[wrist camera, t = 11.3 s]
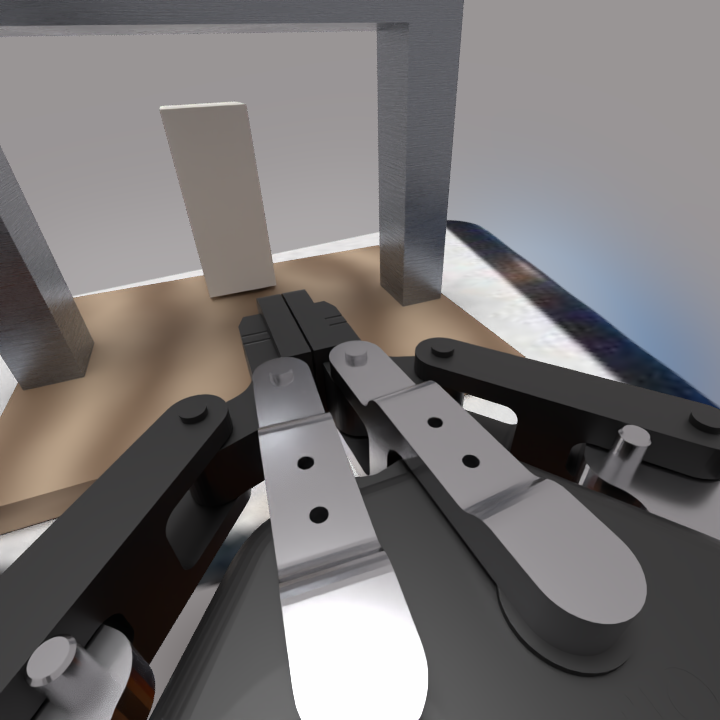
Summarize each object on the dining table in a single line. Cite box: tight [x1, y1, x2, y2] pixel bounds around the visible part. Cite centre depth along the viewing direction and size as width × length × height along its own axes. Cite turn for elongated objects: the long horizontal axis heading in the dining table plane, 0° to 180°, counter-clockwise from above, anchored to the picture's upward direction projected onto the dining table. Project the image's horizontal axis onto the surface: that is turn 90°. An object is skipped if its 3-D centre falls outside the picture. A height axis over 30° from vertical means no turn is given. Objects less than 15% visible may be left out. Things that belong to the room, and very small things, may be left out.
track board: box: [0, 245, 525, 535], centre depth 28 cm, size 27×21×2 cm
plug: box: [160, 102, 276, 298], centre depth 30 cm, size 5×6×12 cm
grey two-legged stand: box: [0, 0, 464, 391], centre depth 21 cm, size 26×10×24 cm, turn 111°
